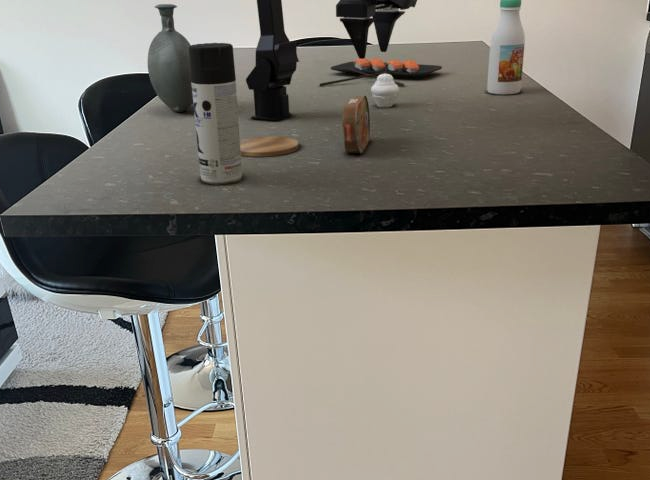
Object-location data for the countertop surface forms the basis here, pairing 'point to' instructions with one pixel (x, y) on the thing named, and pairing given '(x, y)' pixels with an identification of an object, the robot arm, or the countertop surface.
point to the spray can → (216, 112)
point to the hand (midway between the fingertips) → (373, 55)
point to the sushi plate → (383, 69)
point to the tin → (356, 124)
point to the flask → (170, 63)
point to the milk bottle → (506, 51)
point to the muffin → (384, 90)
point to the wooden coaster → (267, 146)
